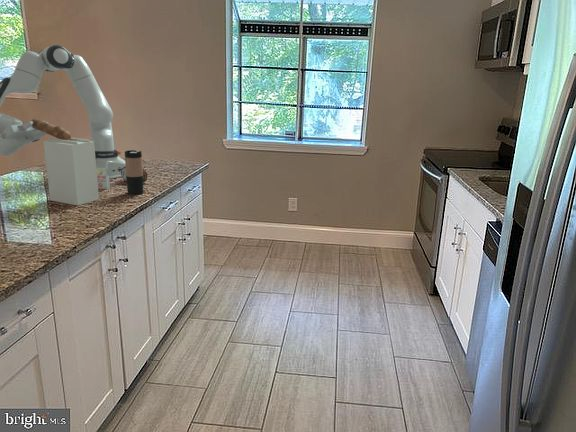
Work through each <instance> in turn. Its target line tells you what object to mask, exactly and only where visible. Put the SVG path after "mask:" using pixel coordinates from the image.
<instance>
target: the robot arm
mask: <svg viewBox="0 0 576 432" xmlns="http://www.w3.org/2000/svg"><path fill="white" fill-rule="evenodd" d="M61 70H63V71H64V72H65V73H66V75H68V77H69V80H70V81H71V83H72V85H73V87H74V89H75V91H76V93H77V95H78V97H79V98H80V100H81V102H82V104H83V106H84V107H85V109H86V111H87V114H88V122H89V124H88V125H89V129H90V141H93V142H94V147H95V158H96V168H102V169H107V170H108V174H109V180H111V179H116V178H122V176H121V169H122V168H123V167H126V166H125V159H123V158H122V157H120V156H119V155H121V153H122V152H121V151H120V150H117V149H115V142H114V133H113V131H114V130H113V126H112V125H113V124H112V120H113V118H114V112H113V110H112V108H111V106H110V105H109V102H108V101H107V98H106V97H105V95H104V92H102V90H101V88H100V86H99V84H98V82H97V80H96V78H95V76H94V74H93V72H92V70H91V68H90V67H89V64H87V61H86V60H85V59H84V58H83V57H82V56H81V55H79V54H72V53H71V52H70V50H68V49H67V48H66V47H64V46H62V45H59V44H55V45H54V44H53V45H50V46H46V47H45V48H43V49H42V50H40V51H39V52H35V51H29V50H28V51H24V52H22V54H21V56H20V58H19V60H18V61H17V64H16V66H15V68H14V72H13V73H12V75H10V76H9V77H4V78H3V79H1V81H0V107H2V105H3V103H4V101H5V100H6V98H7V96H8V95H10V94H13V93H14V94H16V93H18V94H30V93H31V94H32V93H33V92H35V91H37V90H38V89H39V86H40V83H41V81H42V77H43V74H44V72H45V71H46V72H50V73H51V72H58V71H61ZM42 121H44V122H46V123H49V122H48V121H45V120H42ZM33 125H34V123H33V121H31V120H30V121H28V122H26V123H25V122H24V121H23V120H22V119H19V118H18V117H17V118H16V117H14V116H12V115H8V114H5V113H3V112H1V111H0V155H1V156H3V157H9V156H11V155H14V154H16V153H17V152H19V151H20V150H21V148H24V147H26V146H27V145H30V144H32V143H35V142H38V141H40V140H41V139H42V137H44V136H46V135H47V133H44V132H42V131H40V130H37V129H35V128H32V126H33Z"/></svg>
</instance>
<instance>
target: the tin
mask: <svg viewBox="0 0 576 432" xmlns="http://www.w3.org/2000/svg"><path fill="white" fill-rule="evenodd" d="M121 176H122V177H121V178H122V179H123V181H125V182H127V180H126V167H123V168H122V169H121ZM147 180H148V173H147V171H146V170H145V169H144V168H143V184H144V183H146V181H147Z"/></svg>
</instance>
